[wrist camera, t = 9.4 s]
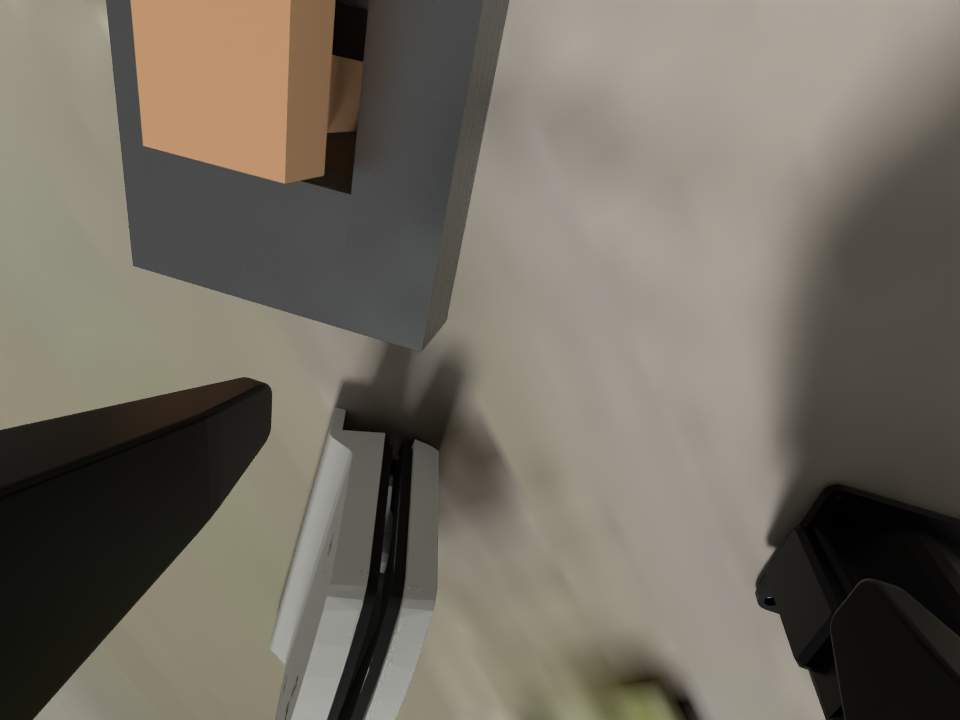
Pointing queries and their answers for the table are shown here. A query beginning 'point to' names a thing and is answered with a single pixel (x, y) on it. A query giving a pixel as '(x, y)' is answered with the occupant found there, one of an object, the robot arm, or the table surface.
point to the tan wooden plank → (244, 83)
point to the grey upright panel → (359, 580)
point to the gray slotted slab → (334, 183)
